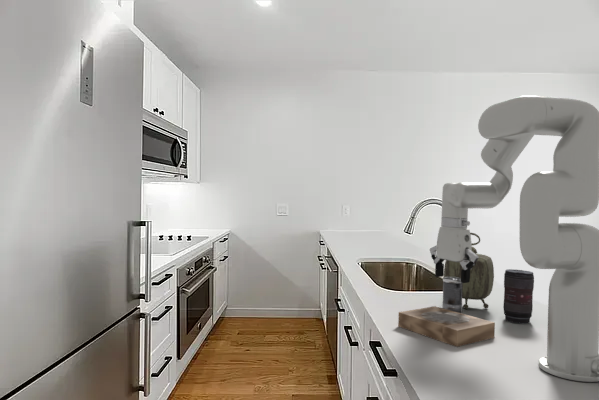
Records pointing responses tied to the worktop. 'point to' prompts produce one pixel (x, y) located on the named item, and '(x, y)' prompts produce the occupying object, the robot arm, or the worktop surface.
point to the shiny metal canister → (452, 294)
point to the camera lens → (518, 295)
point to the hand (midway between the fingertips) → (451, 279)
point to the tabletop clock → (474, 277)
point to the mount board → (447, 325)
